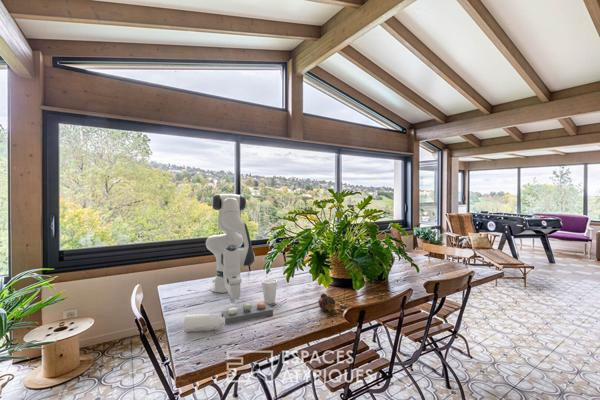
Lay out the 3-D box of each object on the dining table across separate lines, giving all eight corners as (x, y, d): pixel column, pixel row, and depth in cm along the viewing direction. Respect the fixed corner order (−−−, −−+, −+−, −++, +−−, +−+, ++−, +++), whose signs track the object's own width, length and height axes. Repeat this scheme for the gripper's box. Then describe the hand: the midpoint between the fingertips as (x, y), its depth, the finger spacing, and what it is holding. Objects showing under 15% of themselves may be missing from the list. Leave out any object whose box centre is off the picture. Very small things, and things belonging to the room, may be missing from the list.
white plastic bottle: (223, 333, 137) (223, 317, 137) (183, 335, 135) (182, 318, 135) (226, 325, 145) (226, 310, 145) (188, 327, 143) (187, 311, 143)
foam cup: (260, 300, 179) (260, 279, 179) (274, 298, 182) (274, 278, 182) (264, 305, 170) (264, 284, 170) (279, 303, 174) (278, 282, 173)
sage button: (242, 312, 157) (242, 303, 157) (250, 310, 159) (250, 302, 159) (244, 315, 153) (244, 306, 153) (252, 313, 155) (252, 305, 155)
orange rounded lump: (256, 311, 160) (256, 303, 160) (264, 309, 162) (263, 301, 162) (258, 314, 156) (258, 305, 156) (266, 312, 158) (266, 304, 158)
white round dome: (227, 316, 154) (227, 308, 153) (236, 315, 156) (236, 306, 155) (229, 320, 149) (229, 311, 149) (238, 318, 151) (238, 309, 151)
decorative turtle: (328, 303, 172) (328, 291, 172) (340, 315, 158) (341, 301, 157) (313, 305, 169) (314, 292, 168) (324, 317, 154) (325, 303, 154)
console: (221, 317, 155) (221, 311, 155) (266, 308, 166) (266, 303, 166) (225, 324, 146) (225, 318, 146) (272, 314, 157) (272, 309, 157)
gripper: (222, 271, 160) (222, 296, 161) (229, 282, 142) (230, 309, 142) (233, 270, 163) (233, 294, 163) (242, 280, 144) (242, 307, 145)
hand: (232, 301), depth 153 cm, fingers closed
